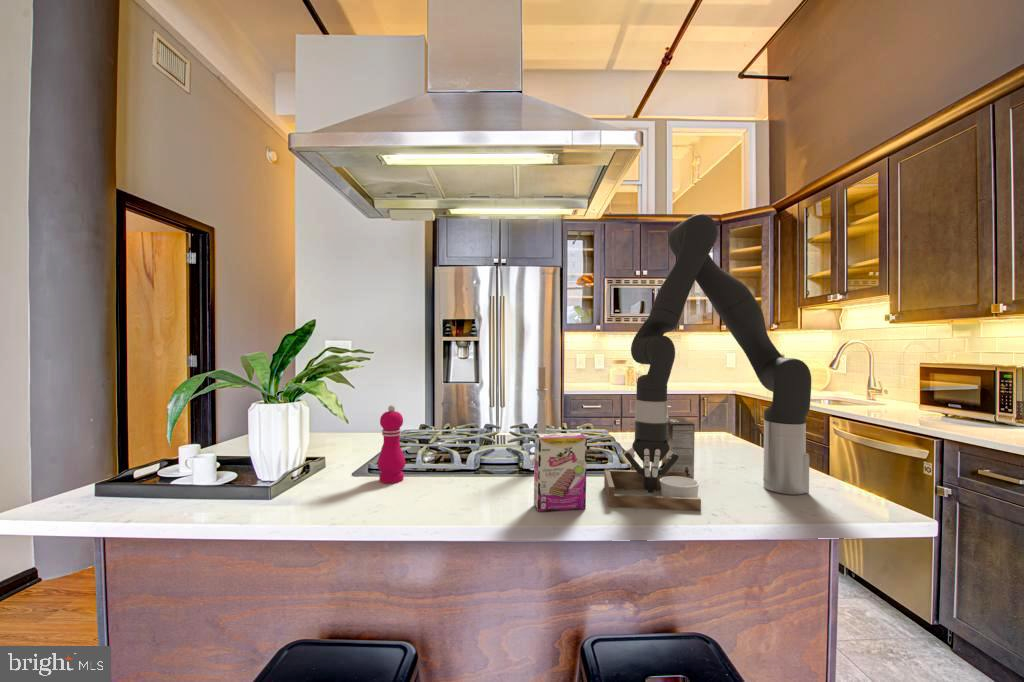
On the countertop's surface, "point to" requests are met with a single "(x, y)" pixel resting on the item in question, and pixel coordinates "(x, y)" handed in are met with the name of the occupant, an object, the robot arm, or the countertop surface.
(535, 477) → the candy bar box
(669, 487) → the ramekin
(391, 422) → the pepper mill
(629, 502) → the open wooden box
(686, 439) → the coffee box
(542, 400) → the candlestick
